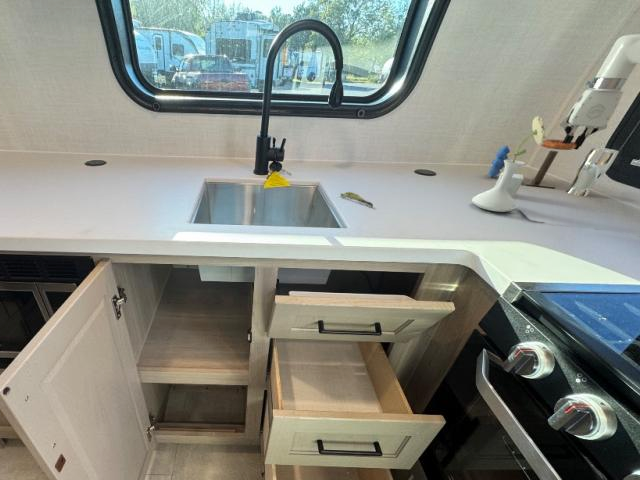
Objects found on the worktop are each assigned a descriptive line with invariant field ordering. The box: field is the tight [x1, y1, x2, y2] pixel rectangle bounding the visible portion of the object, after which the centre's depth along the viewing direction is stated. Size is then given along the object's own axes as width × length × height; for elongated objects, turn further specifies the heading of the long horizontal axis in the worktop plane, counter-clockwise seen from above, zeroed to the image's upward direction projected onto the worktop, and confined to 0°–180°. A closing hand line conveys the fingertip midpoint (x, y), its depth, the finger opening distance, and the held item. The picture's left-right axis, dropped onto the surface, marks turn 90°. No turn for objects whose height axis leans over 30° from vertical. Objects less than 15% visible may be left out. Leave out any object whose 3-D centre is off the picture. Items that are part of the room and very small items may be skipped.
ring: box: [540, 138, 577, 151], centre depth 111 cm, size 10×10×2 cm
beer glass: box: [565, 147, 620, 197], centre depth 106 cm, size 7×7×15 cm
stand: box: [520, 149, 559, 190], centre depth 116 cm, size 9×9×12 cm
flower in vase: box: [471, 115, 547, 213], centre depth 91 cm, size 13×11×25 cm
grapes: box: [488, 145, 511, 178], centre depth 124 cm, size 12×7×12 cm, turn 134°
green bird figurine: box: [339, 191, 374, 209], centre depth 101 cm, size 4×13×2 cm, turn 32°
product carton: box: [494, 171, 524, 199], centre depth 105 cm, size 6×6×7 cm
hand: (569, 147), depth 111 cm, fingers closed on ring, 2 cm apart
